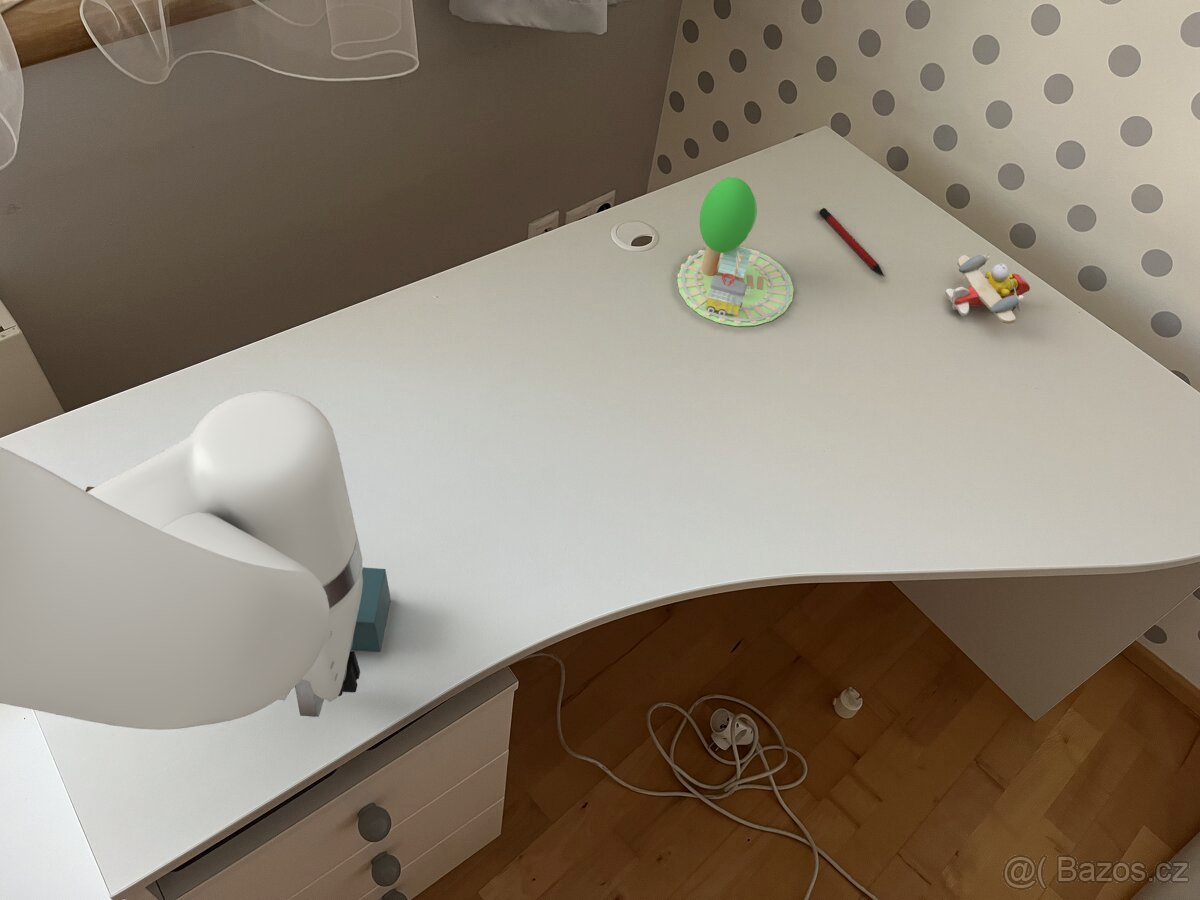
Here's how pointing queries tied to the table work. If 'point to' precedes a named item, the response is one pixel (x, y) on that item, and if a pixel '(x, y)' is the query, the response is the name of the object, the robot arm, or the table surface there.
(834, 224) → the pencil
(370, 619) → the teal block
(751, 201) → the train set
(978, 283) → the toy airplane
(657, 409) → the table surface
